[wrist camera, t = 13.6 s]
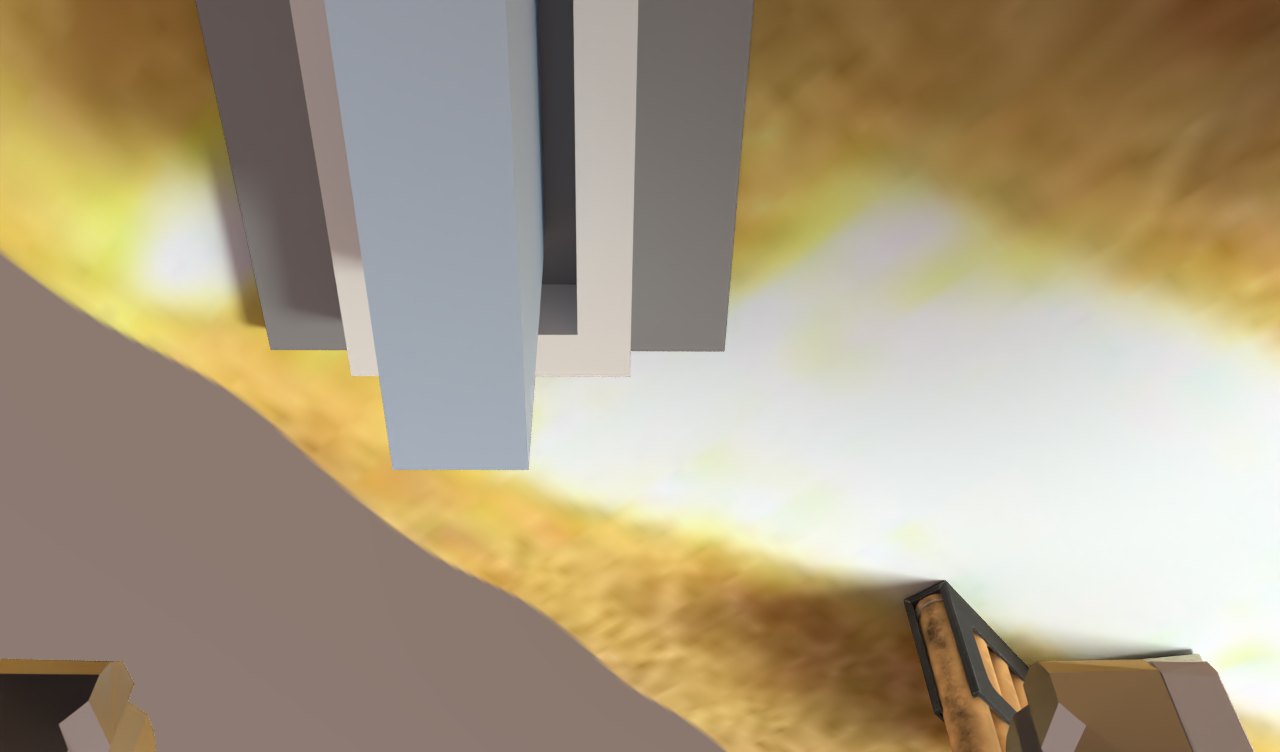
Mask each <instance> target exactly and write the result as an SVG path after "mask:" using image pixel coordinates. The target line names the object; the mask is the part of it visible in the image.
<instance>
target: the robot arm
mask: <svg viewBox="0 0 1280 752" xmlns="http://www.w3.org/2000/svg"><path fill="white" fill-rule="evenodd" d="M133 686H134V682H133V680H132V678H131V676H130V674H129V672H128V670H127V668H126V666H125V664H124V662H123V661H84V660H83V661H82V660H34V659H6V658H5V659H4V658H2V659H1V658H0V752H156V744H155V736H154V730H153V727H152V725H151V723H150V720H149V717H148V715H147V714H146V713H145V712H143V711H142V710H140V709H139V708H137V707H135V706H134V705H133V704H131V703H130V702H128V700H129V697H130V694H131V692H132V689H133ZM1023 688H1024V691H1025V695H1026V698H1027V702H1028V705H1027V706H1025V707H1024V708H1022V709H1021V710H1019V711H1018V712H1017V713H1015V714H1014V715H1012V719H1011V722H1010V726H1009V729H1008V733H1007V736H1006V752H1254V749H1253V747H1252V745H1251V743H1250V741H1249V739H1248V737H1247V734H1246V732H1245V730H1244V728H1243V726H1242V724H1241V722H1240V719H1239V717H1238V715H1237V713H1236V711H1235V709H1234V707H1233V704H1232V702H1231V700H1230V698H1229V696H1228V694H1227V692H1226V689H1225V687H1224V685H1223V683H1222V681H1221V679H1220V677H1219V675H1218V672H1217V671H1216V670H1215V669H1214V668H1213V667H1212V666H1211V665H1210V664H1209V663H1208V662H1205V661H1147V662H1146V661H1144V660H1143V659H1139V660H1066V661H1037V662H1035V663H1034V664H1033V665H1032V666H1031V667H1030V668H1029V670H1028V672H1027V675H1026V678H1025V681H1024V683H1023Z"/></svg>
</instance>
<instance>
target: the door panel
mask: <svg viewBox="0 0 1280 752" xmlns="http://www.w3.org/2000/svg"><path fill="white" fill-rule="evenodd" d="M324 4H325V10H326V17H327V24H328V31H329V38H330V45H331V51H332V58H333V65H334V72H335V79H336V86H337V92H338V99H339V106H340V113H341V120H342V127H343V133H344V140H345V147H346V154H347V161H348V168H349V175H350V181H351V188H352V195H353V202H354V209H355V216H356V222H357V229H358V236H359V243H360V250H361V257H362V263H363V270H364V277H365V284H366V291H367V298H368V304H369V311H370V318H371V325H372V332H373V339H374V346H375V352H376V359H377V366H378V373H379V380H380V387H381V393H382V400H383V407H384V414H385V421H386V428H387V434H388V441H389V448H390V455H391V462H392V469H393V470H529V456H530V442H531V427H532V413H533V399H534V385H535V371H536V357H537V343H538V329H539V315H540V301H541V287H542V273H543V258H544V244H545V230H546V229H545V196H544V164H543V132H542V100H541V68H540V36H539V3H538V0H324Z"/></svg>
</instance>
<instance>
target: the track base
mask: <svg viewBox="0 0 1280 752" xmlns="http://www.w3.org/2000/svg"><path fill="white" fill-rule="evenodd" d="M195 1H196V6H197V10H198V15H199V20H200V24H201V29H202V34H203V38H204V43H205V48H206V52H207V57H208V61H209V66H210V71H211V75H212V80H213V85H214V89H215V94H216V99H217V103H218V108H219V112H220V117H221V122H222V126H223V131H224V136H225V140H226V145H227V150H228V154H229V159H230V164H231V168H232V173H233V177H234V182H235V187H236V191H237V196H238V201H239V205H240V210H241V215H242V219H243V224H244V228H245V233H246V238H247V242H248V247H249V252H250V256H251V261H252V266H253V270H254V275H255V279H256V284H257V289H258V293H259V298H260V303H261V307H262V312H263V317H264V321H265V326H266V330H267V335H268V340H269V344H270V349H271V350H347V352H348V358H349V364H350V370H351V376H379V373H378V366H377V359H376V352H375V346H374V339H373V332H372V325H371V318H370V311H369V304H368V298H367V291H366V284H365V277H364V270H363V263H362V257H361V250H360V243H359V236H358V229H357V222H356V216H355V209H354V202H353V195H352V188H351V181H350V175H349V168H348V161H347V154H346V147H345V140H344V133H343V127H342V120H341V113H340V106H339V99H338V92H337V86H336V79H335V72H334V65H333V58H332V51H331V45H330V38H329V31H328V24H327V17H326V10H325V4H324V0H195ZM538 3H539V36H540V68H541V100H542V132H543V164H544V196H545V229H546V230H545V244H544V258H543V273H542V287H541V301H540V315H539V329H538V343H537V357H536V371H535V376H569V377H630V353H631V351H724V350H725V338H726V326H727V314H728V302H729V290H730V279H731V267H732V255H733V243H734V231H735V219H736V207H737V196H738V184H739V172H740V160H741V148H742V136H743V124H744V113H745V101H746V89H747V77H748V65H749V53H750V41H751V30H752V18H753V6H754V0H538Z"/></svg>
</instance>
